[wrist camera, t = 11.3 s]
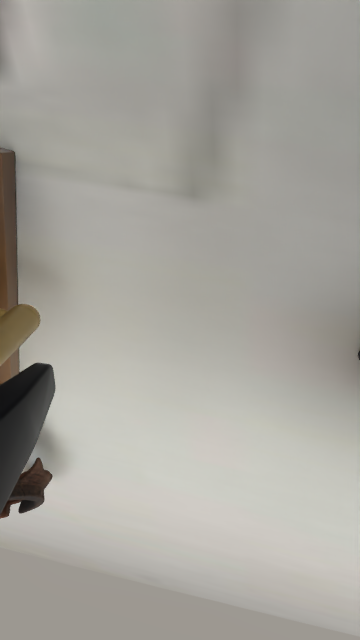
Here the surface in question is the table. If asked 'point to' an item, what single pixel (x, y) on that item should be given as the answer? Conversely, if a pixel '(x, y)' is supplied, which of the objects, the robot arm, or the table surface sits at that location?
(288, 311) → the table surface
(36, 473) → the brown miniature stool
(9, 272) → the door frame
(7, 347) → the door
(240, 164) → the table surface
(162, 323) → the table surface
